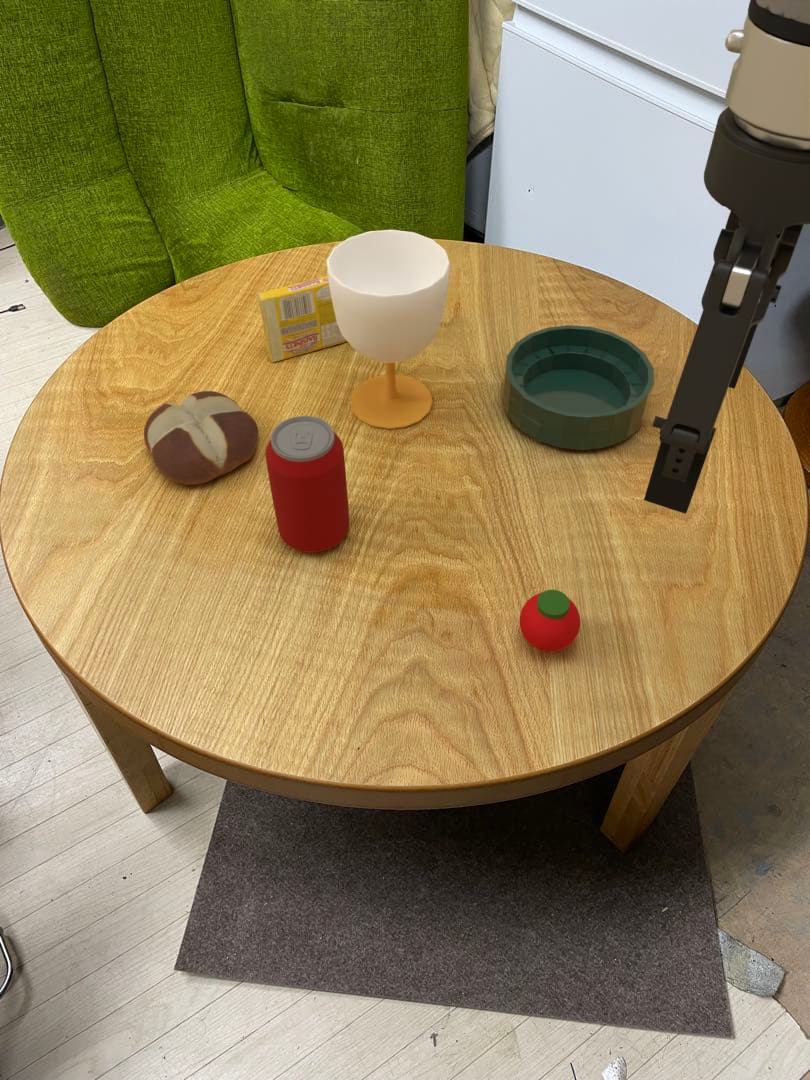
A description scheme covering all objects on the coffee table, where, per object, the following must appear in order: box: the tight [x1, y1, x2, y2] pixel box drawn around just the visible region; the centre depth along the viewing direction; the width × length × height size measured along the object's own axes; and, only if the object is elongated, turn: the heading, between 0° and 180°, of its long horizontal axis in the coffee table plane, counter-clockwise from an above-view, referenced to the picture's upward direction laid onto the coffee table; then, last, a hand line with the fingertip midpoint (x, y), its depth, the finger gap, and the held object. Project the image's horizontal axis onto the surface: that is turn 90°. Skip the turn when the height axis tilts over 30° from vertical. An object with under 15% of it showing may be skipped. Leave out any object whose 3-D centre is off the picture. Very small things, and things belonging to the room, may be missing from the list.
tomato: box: [519, 589, 581, 653], centre depth 72 cm, size 5×5×5 cm
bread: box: [143, 390, 259, 486], centre depth 88 cm, size 11×11×5 cm
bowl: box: [502, 324, 655, 451], centre depth 92 cm, size 15×15×5 cm
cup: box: [325, 229, 451, 430], centre depth 88 cm, size 12×12×17 cm
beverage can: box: [264, 415, 350, 553], centre depth 78 cm, size 7×7×12 cm
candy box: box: [257, 275, 348, 363], centre depth 99 cm, size 16×2×8 cm, turn 115°
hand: (693, 438), depth 59 cm, fingers open, 13 cm apart
